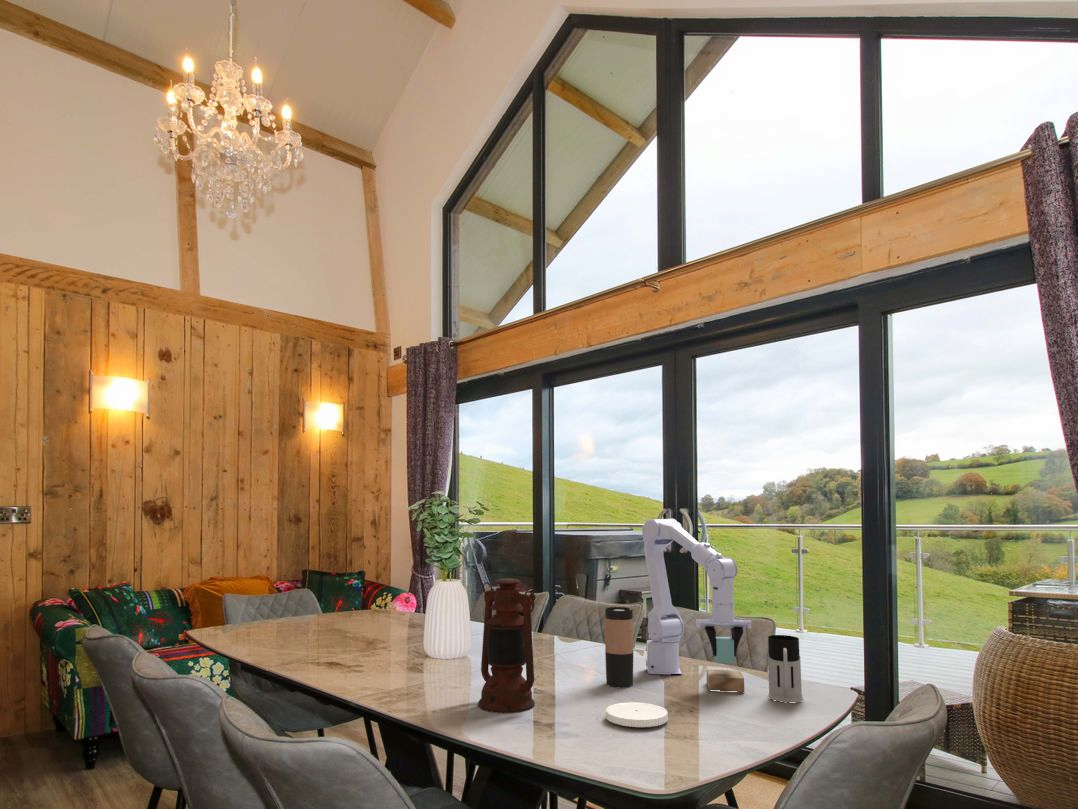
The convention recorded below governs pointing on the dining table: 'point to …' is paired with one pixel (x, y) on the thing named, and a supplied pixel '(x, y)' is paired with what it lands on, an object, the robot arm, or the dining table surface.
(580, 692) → the dining table surface
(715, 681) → the walnut base
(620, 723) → the plastic lid
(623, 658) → the travel mug
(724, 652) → the teal block
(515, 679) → the lantern
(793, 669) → the glass holder
